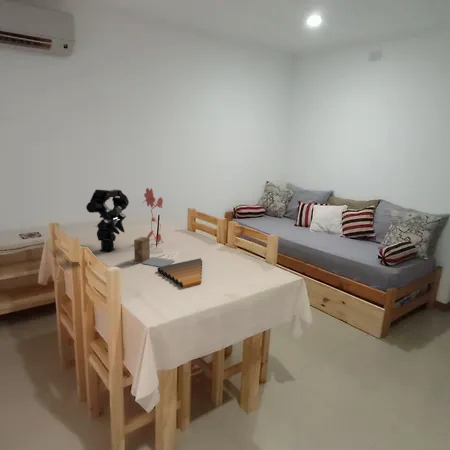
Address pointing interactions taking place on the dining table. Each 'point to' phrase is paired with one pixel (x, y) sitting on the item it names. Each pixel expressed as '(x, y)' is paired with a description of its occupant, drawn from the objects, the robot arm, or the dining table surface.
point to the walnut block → (142, 249)
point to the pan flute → (183, 272)
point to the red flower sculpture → (151, 200)
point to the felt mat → (157, 262)
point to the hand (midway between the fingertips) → (121, 232)
